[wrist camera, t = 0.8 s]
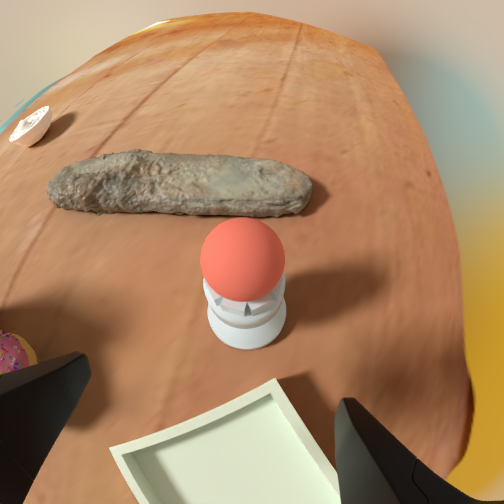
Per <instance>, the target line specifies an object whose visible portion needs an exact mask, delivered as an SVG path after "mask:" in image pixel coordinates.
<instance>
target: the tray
mask: <svg viewBox="0 0 504 504" xmlns="http://www.w3.org/2000/svg"><path fill="white" fill-rule="evenodd" d="M109 449H110V451H111V453H112V455H113V457H114V459H115V461H116V463H117V465H118V467H119V469H120V471H121V473H122V475H123V476H124V478H125V480H126V482H127V483H128V485H129V487H130V489H131V490H132V492H133V494H134V495H135V497H136V498H137V500H138V502H139V503H140V504H341V499H340V491H339V483H338V475H337V472H336V471H335V469H334V468H333V466H332V465H331V463H330V462H329V461H328V459H327V458H326V456H325V455H324V453H323V452H322V450H321V449H320V447H319V446H318V444H317V443H316V441H315V440H314V438H313V437H312V435H311V434H310V432H309V431H308V429H307V428H306V426H305V425H304V423H303V421H302V420H301V418H300V417H299V415H298V414H297V412H296V411H295V409H294V407H293V406H292V404H291V403H290V401H289V400H288V398H287V396H286V395H285V393H284V392H283V390H282V388H281V387H280V385H279V383H278V382H277V380H276V379H275V378H274V379H272V380H270V381H268V382H266V383H265V384H263V385H261V386H259V387H257V388H255V389H253V390H251V391H249V392H247V393H245V394H244V395H242V396H240V397H238V398H236V399H233V400H231V401H229V402H227V403H225V404H223V405H221V406H219V407H217V408H215V409H212V410H210V411H208V412H206V413H203V414H201V415H199V416H197V417H194V418H192V419H189V420H187V421H185V422H182V423H180V424H177V425H175V426H172V427H170V428H167V429H164V430H162V431H159V432H156V433H154V434H151V435H148V436H145V437H142V438H139V439H136V440H133V441H130V442H127V443H124V444H120V445H117V446H114V447H110V448H109Z"/></svg>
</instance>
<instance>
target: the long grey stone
mask: <svg viewBox="0 0 504 504" xmlns="http://www.w3.org/2000/svg"><path fill="white" fill-rule="evenodd" d="M312 185H313V183H312V182H311V180H310V178H309V176H307V175H306V174H305V173H304V172H302V171H300V170H298V169H296V168H293V167H291V166H289V165H286V164H283V163H281V162H278V161H275V160H269V159H259V158H257V159H251V158H243V157H233V156H228V155H211V154H208V155H192V154H174V153H163V154H161V153H159V154H158V153H152V152H151V151H144V150H140V149H134V150H131V151H129V152H121V153H116V154H114V153H112V154H107V155H106V154H103V155H101V156H100V157H94V158H90V159H87V160H84V161H81V162H77V163H75V164H72V165H69V166H66V167H64V168H62V169H61V170H59V171H58V172H57V173H56V174H55V175H54V176H53V177H52V178H51V180H50V181H49V182H48V186H47V194H48V196H49V199H50V200H51V201H52V202H53V203H54V205H55V207H57V208H61V207H62V208H64V209H75V210H84V211H85V212H88V211H90V210H92V211H93V212H97V215H98V216H99V215H101V214H103V213H106V212H107V213H110V214H112V213H114V212H116V211H117V212H130V213H138V212H140V213H142V212H149V211H157V212H160V213H167V214H169V213H175V214H177V215H183V214H184V213H186V214H188V215H191V216H193V215H200V214H202V215H231V216H232V215H234V216H235V215H236V216H251V217H255V216H256V217H265V216H275V217H279V216H281V215H282V214H289V213H294V214H296V215H297V214H298V213H299V212H300V211H301V210H302V209H304V208H305V206H306V205H307V204H308V202H309V200H310V197H311V193H312V188H313V186H312Z"/></svg>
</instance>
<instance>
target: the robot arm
mask: <svg viewBox="0 0 504 504" xmlns="http://www.w3.org/2000/svg"><path fill="white" fill-rule="evenodd" d="M90 377H91V369H90V365H89V362H88V358H87V356H86V355H85V354H83V353H81V352H73V353H70V354H67V355H64V356H61V357H57V358H54V359H51V360H48V361H45V362H41V363H38V364H35V365H31V366H28V367H24V368H21V369H18V370H14V371H11V372H7V373H4V374H0V504H23V502H24V500H25V498H26V496H27V494H28V492H29V490H30V488H31V486H32V484H33V482H34V481H33V480H35V478H36V476H37V474H38V472H39V470H40V468H41V466H42V464H43V463H44V461H45V459H46V457H47V455H48V453H49V452H50V450H51V448H52V446H53V445H54V443H55V441H56V439H57V438H58V436H59V434H60V433H61V431H62V429H63V427H64V426H65V424H66V422H67V421H68V419H69V418H70V416H71V414H72V413H73V411H74V409H75V408H76V406H77V404H78V402H79V400H80V398H81V396H82V393H83V391H84V389H85V387H86V385H87V383H88V381H89V379H90ZM334 425H335V460H336V468H337V475H338V483H339V491H340V499H341V504H504V500H503V501H480V500H476V499H474V498H471V497H469V496H468V495H466V494H464V493H463V492H461V491H460V490H458V489H457V488H455V487H454V486H452V485H451V484H449V483H448V482H446V481H445V480H444V479H442V478H441V477H439V476H438V475H437V474H435V473H434V472H433V471H432V470H431V469H429V468H428V467H427V466H426V465H425V464H424V463H422V462H421V461H420V460H419V459H416V458H417V457H416V456H415V455H414V454H413V453H411V452H410V451H409V450H408V449H407V448H406V447H405V446H404V445H403V444H402V443H401V442H400V441H399V440H398V439H397V438H395V437H394V436H393V435H392V434H391V433H390V432H389V431H388V430H387V429H386V428H385V427H384V426H383V425H382V424H381V423H380V422H379V421H378V420H377V419H376V418H375V417H373V416H372V415H371V414H370V413H369V412H368V411H367V410H366V409H365V408H364V407H363V406H362V405H361V404H360V403H359V402H358V401H357V400H356V399H355V398H342V399H341V401H340V403H339V406H338V408H337V411H336V414H335V418H334Z"/></svg>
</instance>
